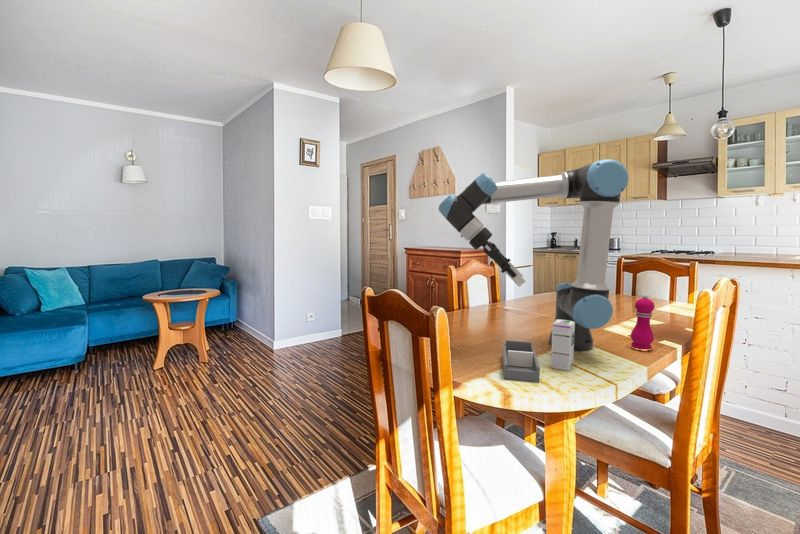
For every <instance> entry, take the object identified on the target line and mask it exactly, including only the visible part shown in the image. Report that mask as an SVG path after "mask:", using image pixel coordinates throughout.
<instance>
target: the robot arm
mask: <svg viewBox="0 0 800 534" xmlns="http://www.w3.org/2000/svg"><path fill="white" fill-rule="evenodd" d="M628 184H629V173H628V170H627V168H626V167H625V166H624V164H623V163H622V162H620V161H618V160H615V159H611V158H610V159H609V158H606V159H599V160H597V161H595V162H593V163H590V164H586V165H584V166H582V167H579V168H575V169H571V170H567V171H565V170H564V171H562V172H560V174H556V175H549V176H538V177H530V178H529V177H528V178H519V179H510V180H500V181H495V180H494V179H493V178H491V176H489V175H488V174H487V173H480V175H478V177H477V176H476V178H475V179H474V180H473V181H472V182H471V183H470V184H469V185H468V186H467V187H465V189H463V190H462V192H461V193H459V194H458V195H456V194H454V193H451V194H449V195H448V196H447V197H445V199H443V201H442V202H441V203H440V204H439V206H438V211H439V213H440V214H441V215H442V217H444V219H445V220H446V221H448V222H449V224H450V225H451V226H452V227H453V228H454V229H455V230H456V231H457V232H458V233H459V234H460V235H459V237H460V238H464V240H465V241H468V243H469V244H470V246H472V248H473V249H474V250H475V251H476V250H478V249H480V248H481V247H482V249H483V252H484V253H485V254H486V255H487V256H489V258H490V259H492V260H493V261H494V262H495V264H497V266H498V267H499V268H500V269H501V270H500V272H501V273H502V274H504V273H505V274H506V275H507V277H509V278H510V279H511V280H512V281H513V283H514V284H516V286H517V287H519V288H520V287H521V286H522V285H524V284H525V283H526V280H525V278H523V276H524V275H523V274H522V273H521V272H520V271H519V270H518V268H516V267H515V266H514V265H513V264H512V262H511V261H512V260H511V258H507V257H506V256H505V255H504V254H503V253H501V250H500V249H499V248H498V247H497V245H496V244H495V243H494V242H492V241H489V239H491V237H492V236H493V233H492V232H491V231H490V230H489V229H488V228H487V227H484V223H483V222H481V221H480V219H478V217H477V216H476V215H474V214H473V213H474V212H475V211H477V209H479V208H480V207H481V206H482V205H489V204H497V203H506V202H507V203H508V202H517V201H526V200H527V201H529V200H538V199H548V198H556V197H557V198H558V197H560V198H561V199H563V200H565V199H566V200H567V199H579V203H580V205H581V206H582V207H583V218H582V226H581V235H580V245H579V254H578V263H577V272H576V280H574V282H569V283H568V282H561V283H558V284H557V285H556V292H555V294H556V299H555V317H554V318H555V319H554V321H556V320H557V319H559V320H570V321H574V322H575V335H574V351H589V350H592V349H593V348H594V338H593V334H592V331H591V330H595V329H600V328H602V327H604V326H605V325H607V324H608V323H609V322H610V320H611V319H612V316H613V315H614V314H613V312H614V308H613V304H612V303H611V301H610V300H609V296H610V295H609V294H610V287H609V286H608V285H607V283H606V277H607V275H606V274H607V267H608V257H609V251H610V250H609V249H610V240H611V233H612V222H613V216H614V215H613V214H614V209H615V208H616V207H617V206H619V205H620V201H621V195H622V193H623V192H624V190H625V189H626V188H627V187H628ZM548 338H549V339H548V344H550V345H551V346H552V330H551V331H550V333H549V336H548Z"/></svg>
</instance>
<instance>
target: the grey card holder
mask: <svg viewBox="0 0 800 534" xmlns="http://www.w3.org/2000/svg"><path fill="white" fill-rule="evenodd" d="M508 350H512V351H524V352H533V367H532V368H531V367H520V366H509V365H508V363H507V357H508ZM502 365H503V368H504V369H503V368H502V369H503V379H504V380H510V381H521V382H522V381H523V382H530V383H531V382H532V383H533V382H534V383H540V378H541V377H540V373H541V372H540V371H541V367H540V363H539V360H538V357H537V353H536V350H535V347H534V346H533V345H532V341H524V340H523V341H522V340H511V339H510V340H509V339H506V340H505V344H503V347H502Z"/></svg>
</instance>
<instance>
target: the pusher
mask: <svg viewBox="0 0 800 534" xmlns="http://www.w3.org/2000/svg"><path fill="white" fill-rule="evenodd" d="M507 363H508V365H509V366H520V367H531V368H532V367H533V352H524V351H512V350H508V357H507Z"/></svg>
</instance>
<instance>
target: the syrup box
mask: <svg viewBox="0 0 800 534" xmlns="http://www.w3.org/2000/svg"><path fill="white" fill-rule="evenodd" d="M551 328H552V329H551V331H552V345H551V351H550V352H551V355H550V356H551V357H550V368H552V369H557V370H561V371H565V372H566V371H567V372H570V371H571V370H572V368H573V367H574V355H575V350H574V335H575V322H574V321H570V320H559V319H557V320H556V321H555V320H554V321H553V323H552V327H551Z"/></svg>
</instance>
